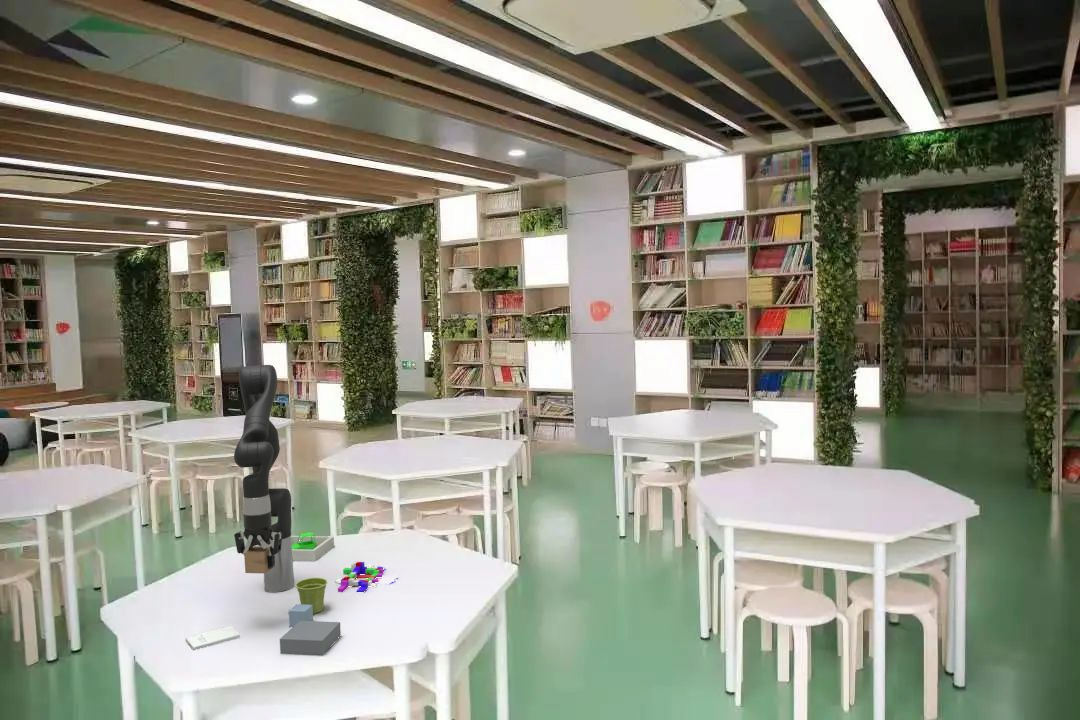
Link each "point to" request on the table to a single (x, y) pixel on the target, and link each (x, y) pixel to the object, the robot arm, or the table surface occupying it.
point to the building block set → (360, 576)
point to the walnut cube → (256, 560)
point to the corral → (312, 555)
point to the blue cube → (300, 614)
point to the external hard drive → (212, 637)
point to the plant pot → (312, 592)
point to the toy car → (305, 545)
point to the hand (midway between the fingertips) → (260, 567)
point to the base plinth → (310, 638)
